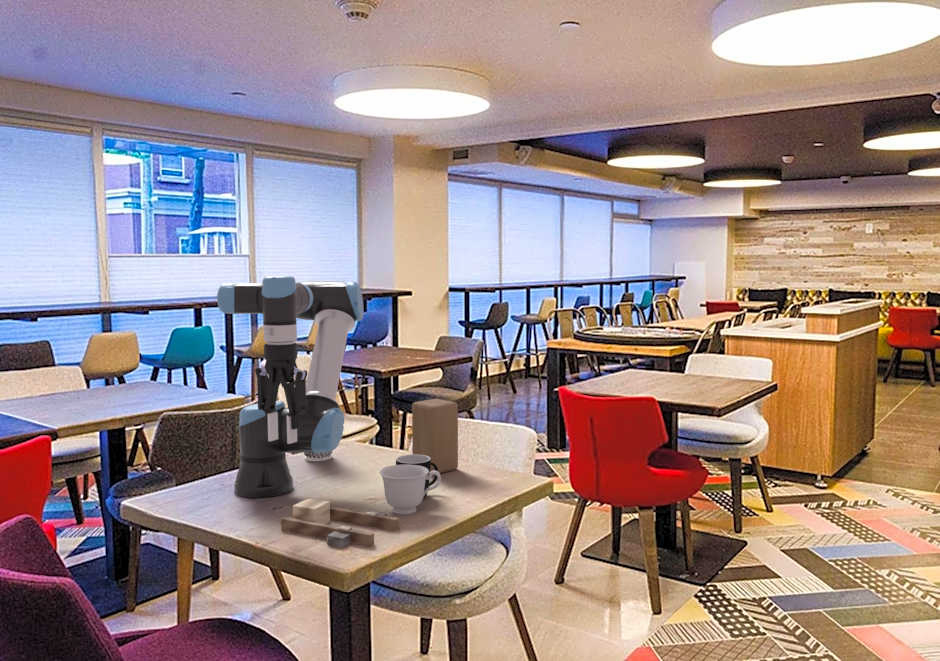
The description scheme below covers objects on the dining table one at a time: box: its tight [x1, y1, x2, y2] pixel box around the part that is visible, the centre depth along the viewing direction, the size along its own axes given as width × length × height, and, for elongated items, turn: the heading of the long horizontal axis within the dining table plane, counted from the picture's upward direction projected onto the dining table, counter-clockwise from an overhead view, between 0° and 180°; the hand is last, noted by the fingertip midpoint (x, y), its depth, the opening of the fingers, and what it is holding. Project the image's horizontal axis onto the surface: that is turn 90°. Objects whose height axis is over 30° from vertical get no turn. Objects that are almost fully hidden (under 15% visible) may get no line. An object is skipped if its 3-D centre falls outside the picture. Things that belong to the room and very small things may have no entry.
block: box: [411, 398, 459, 474], centre depth 221 cm, size 10×10×20 cm
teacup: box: [379, 464, 442, 516], centre depth 185 cm, size 12×15×10 cm
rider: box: [292, 497, 331, 524], centre depth 176 cm, size 6×6×5 cm
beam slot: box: [280, 505, 400, 548], centre depth 173 cm, size 24×18×3 cm
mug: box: [395, 453, 438, 499], centre depth 197 cm, size 12×9×10 cm
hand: (282, 441), depth 178 cm, fingers open, 5 cm apart
